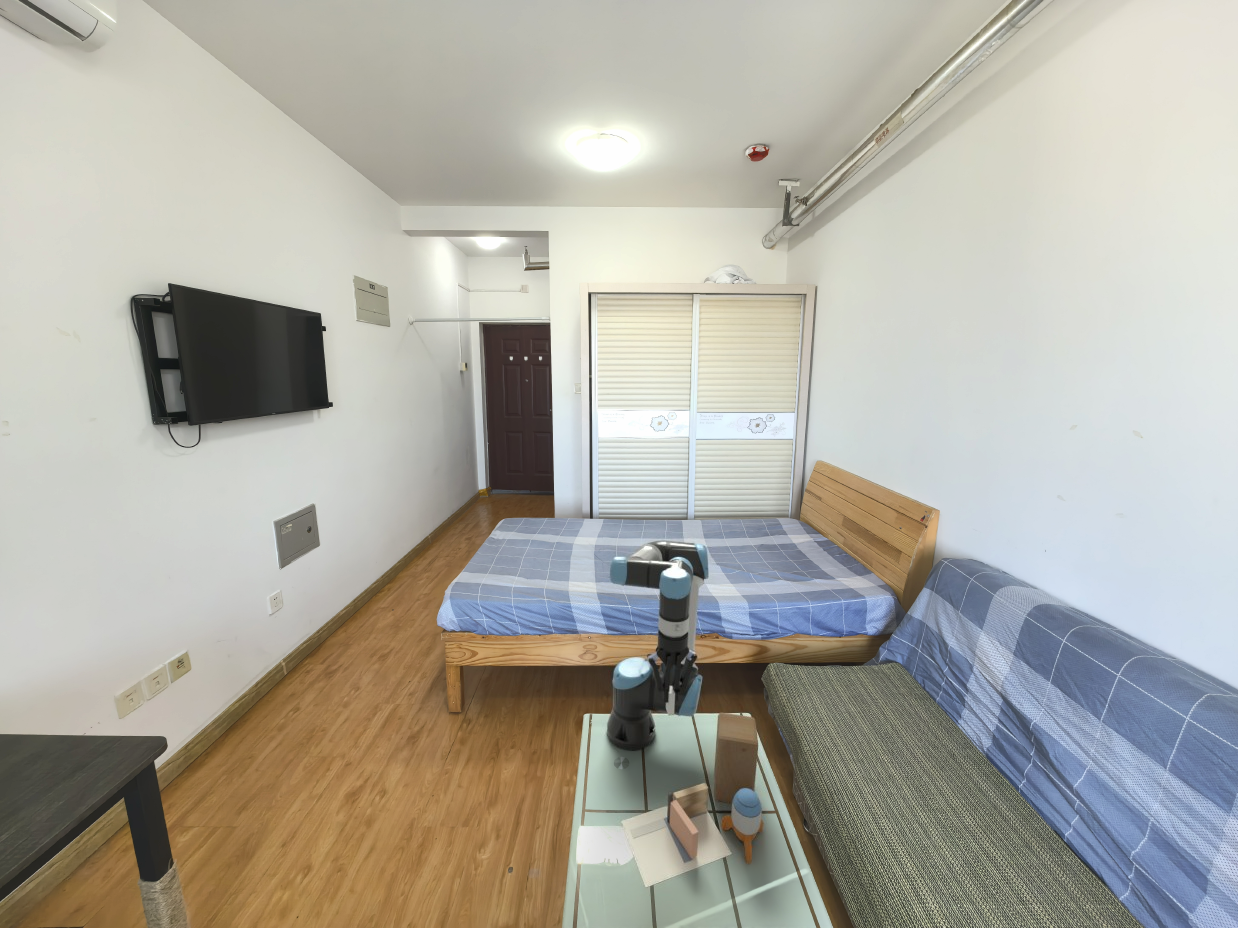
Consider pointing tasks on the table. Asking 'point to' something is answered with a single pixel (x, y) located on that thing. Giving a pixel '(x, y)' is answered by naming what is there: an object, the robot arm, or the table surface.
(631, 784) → the table surface
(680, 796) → the fixed fence panel
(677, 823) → the hinged fence panel
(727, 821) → the toy rocket
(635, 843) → the card
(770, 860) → the table surface
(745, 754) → the wooden block
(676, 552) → the robot arm
